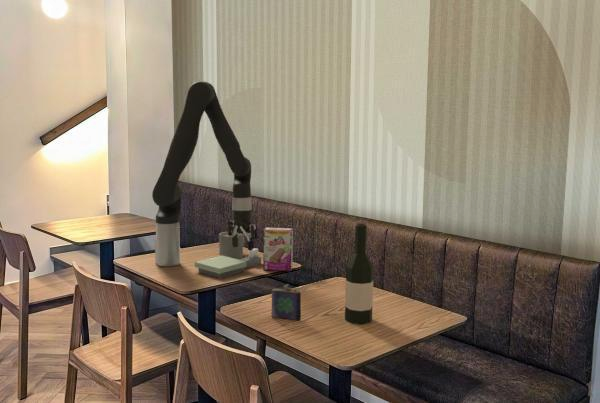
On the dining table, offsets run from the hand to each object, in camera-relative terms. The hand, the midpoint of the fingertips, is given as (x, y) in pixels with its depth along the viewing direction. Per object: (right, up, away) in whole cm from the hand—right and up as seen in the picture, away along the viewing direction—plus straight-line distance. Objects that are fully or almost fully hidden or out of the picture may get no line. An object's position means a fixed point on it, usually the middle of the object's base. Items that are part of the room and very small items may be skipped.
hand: (242, 248), depth 242 cm
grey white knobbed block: (+1, -7, +4) cm, 8 cm away
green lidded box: (-8, -9, -6) cm, 13 cm away
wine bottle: (+40, -18, -56) cm, 71 cm away
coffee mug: (-5, -5, +19) cm, 20 cm away
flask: (+18, -17, -56) cm, 61 cm away
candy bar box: (+14, -8, -2) cm, 16 cm away
